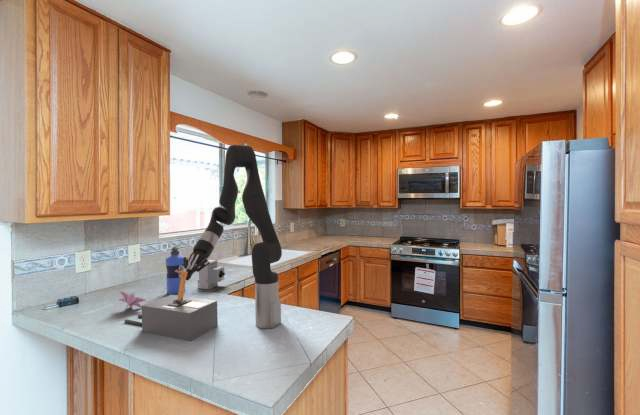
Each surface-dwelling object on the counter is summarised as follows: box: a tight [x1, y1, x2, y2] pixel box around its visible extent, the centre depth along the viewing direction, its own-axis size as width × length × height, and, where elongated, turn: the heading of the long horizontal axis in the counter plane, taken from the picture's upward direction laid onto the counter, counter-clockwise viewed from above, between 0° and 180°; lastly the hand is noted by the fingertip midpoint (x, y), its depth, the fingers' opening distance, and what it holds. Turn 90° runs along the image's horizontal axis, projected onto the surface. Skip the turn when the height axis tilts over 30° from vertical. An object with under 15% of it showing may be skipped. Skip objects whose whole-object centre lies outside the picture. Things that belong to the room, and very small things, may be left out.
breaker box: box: [124, 295, 219, 342], centre depth 119 cm, size 39×14×11 cm, turn 69°
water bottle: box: [165, 246, 186, 296], centre depth 163 cm, size 9×9×25 cm
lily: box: [117, 290, 147, 315], centre depth 136 cm, size 12×12×10 cm
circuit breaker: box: [197, 259, 226, 290], centre depth 173 cm, size 8×14×15 cm, turn 78°
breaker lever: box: [177, 270, 188, 302], centre depth 117 cm, size 2×1×12 cm, turn 69°
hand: (185, 279), depth 119 cm, fingers closed
